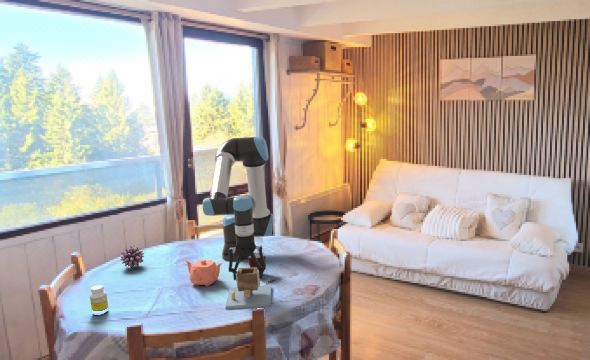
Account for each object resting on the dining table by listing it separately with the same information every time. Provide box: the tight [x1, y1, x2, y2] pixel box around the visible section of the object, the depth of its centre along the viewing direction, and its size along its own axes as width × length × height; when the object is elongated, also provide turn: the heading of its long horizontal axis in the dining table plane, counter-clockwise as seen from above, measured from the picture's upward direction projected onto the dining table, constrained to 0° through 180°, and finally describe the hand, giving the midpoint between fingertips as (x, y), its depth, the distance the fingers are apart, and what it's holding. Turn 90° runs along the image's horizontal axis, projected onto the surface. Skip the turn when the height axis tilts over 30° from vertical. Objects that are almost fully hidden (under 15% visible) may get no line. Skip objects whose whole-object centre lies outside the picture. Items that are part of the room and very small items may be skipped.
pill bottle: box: [89, 284, 109, 311], centre depth 182 cm, size 6×6×11 cm
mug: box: [247, 251, 267, 276], centre depth 211 cm, size 11×8×10 cm
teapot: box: [184, 259, 224, 287], centre depth 207 cm, size 14×14×11 cm
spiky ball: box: [120, 244, 145, 268], centre depth 231 cm, size 12×12×12 cm
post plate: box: [225, 284, 272, 310], centre depth 189 cm, size 18×18×6 cm
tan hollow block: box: [237, 266, 258, 297], centre depth 185 cm, size 14×8×7 cm, turn 2°
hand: (248, 286), depth 189 cm, fingers closed on tan hollow block, 8 cm apart
